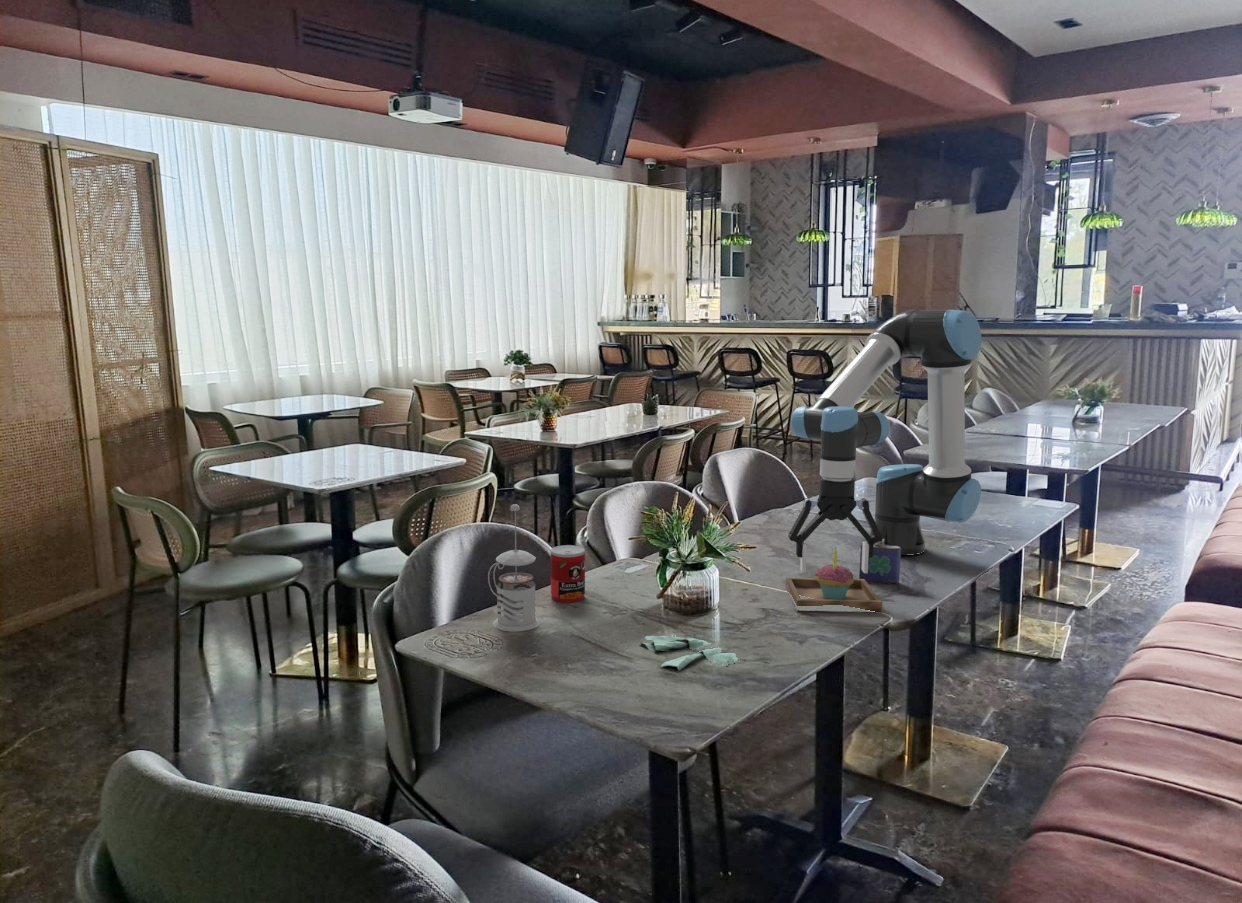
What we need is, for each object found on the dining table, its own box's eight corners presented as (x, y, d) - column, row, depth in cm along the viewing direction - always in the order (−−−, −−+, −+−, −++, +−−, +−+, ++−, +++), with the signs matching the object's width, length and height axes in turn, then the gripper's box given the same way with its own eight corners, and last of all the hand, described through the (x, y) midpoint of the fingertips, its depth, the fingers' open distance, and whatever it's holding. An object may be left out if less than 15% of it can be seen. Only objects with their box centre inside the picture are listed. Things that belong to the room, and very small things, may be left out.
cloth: (757, 669, 158) (757, 656, 158) (647, 687, 150) (647, 674, 150) (705, 631, 177) (705, 619, 176) (605, 645, 169) (605, 633, 168)
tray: (863, 589, 202) (864, 579, 201) (881, 613, 186) (882, 601, 186) (785, 588, 202) (786, 577, 202) (796, 611, 187) (797, 600, 186)
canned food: (559, 604, 190) (559, 556, 188) (545, 594, 197) (544, 547, 195) (591, 599, 194) (591, 551, 192) (576, 589, 201) (575, 543, 199)
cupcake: (854, 604, 189) (856, 550, 187) (814, 601, 191) (816, 548, 189) (851, 591, 197) (853, 540, 196) (813, 589, 199) (815, 538, 197)
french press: (520, 635, 172) (518, 511, 168) (475, 623, 178) (473, 504, 174) (550, 620, 181) (549, 502, 177) (506, 610, 187) (504, 496, 183)
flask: (899, 582, 208) (901, 538, 206) (899, 585, 205) (901, 541, 203) (858, 578, 210) (860, 535, 208) (858, 582, 207) (860, 538, 206)
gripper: (890, 474, 193) (885, 566, 197) (777, 474, 194) (774, 565, 198) (899, 481, 186) (894, 576, 189) (782, 481, 187) (779, 576, 190)
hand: (833, 571), depth 193 cm, fingers open, 13 cm apart
